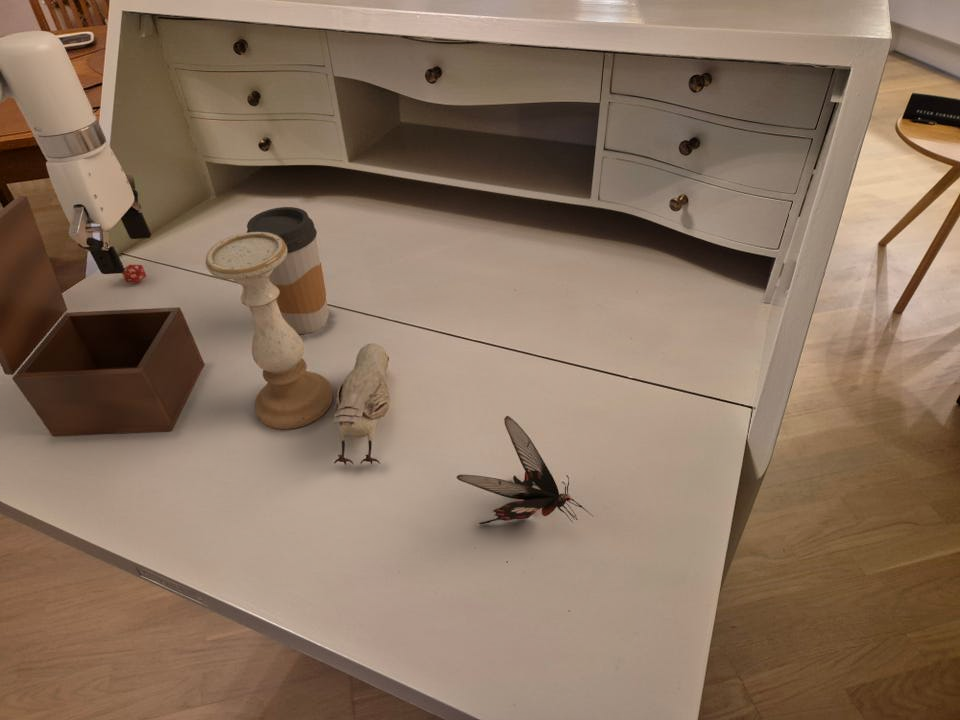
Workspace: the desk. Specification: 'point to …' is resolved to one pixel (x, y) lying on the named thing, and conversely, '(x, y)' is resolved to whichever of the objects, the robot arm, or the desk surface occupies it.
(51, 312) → the lid
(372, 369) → the decorative bird
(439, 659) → the desk surface
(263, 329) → the candle holder
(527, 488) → the butterfly
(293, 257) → the coffee cup
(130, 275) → the die
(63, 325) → the keepsake box
